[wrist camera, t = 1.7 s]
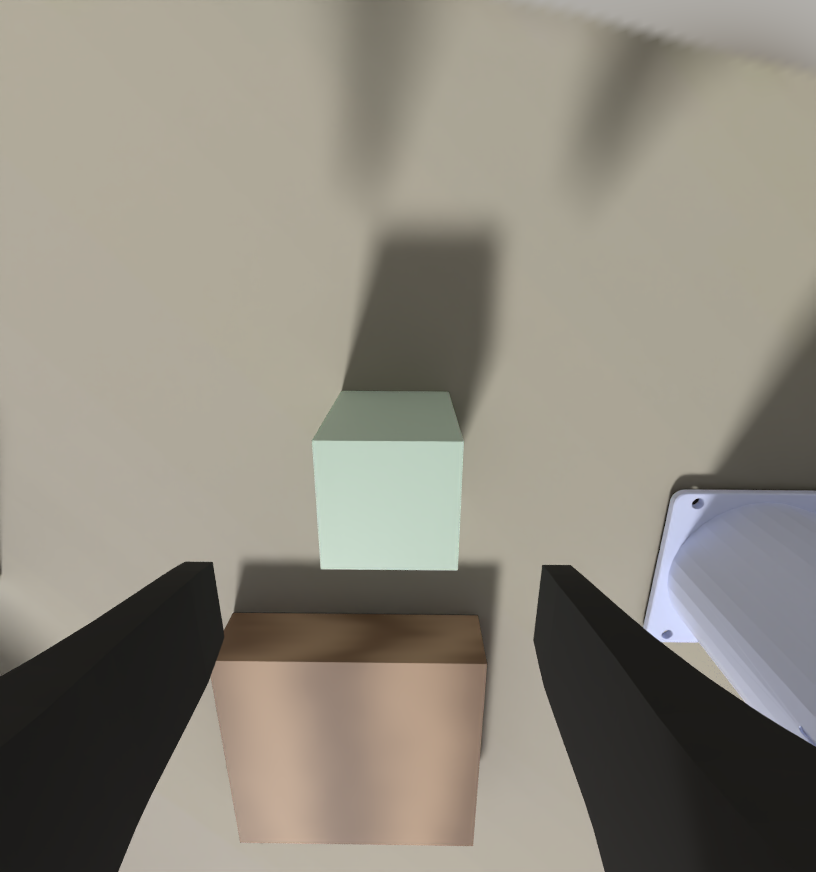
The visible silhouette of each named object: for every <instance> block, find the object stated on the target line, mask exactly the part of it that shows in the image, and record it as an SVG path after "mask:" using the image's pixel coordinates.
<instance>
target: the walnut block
mask: <svg viewBox="0 0 816 872" xmlns="http://www.w3.org/2000/svg"><path fill="white" fill-rule="evenodd" d="M486 672H487V661H486V655H485V650H484V645H483V640H482V634H481V629H480V624H479V618H478V615H402V614H305V613H233V614H232V616H231V618H230V620H229V622H228V624H227V626H226V627H225V629H224V640H223V643H222V646H221V649H220V652H219V655H218V658H217V660H216V663H215V666H214V669H213V671H212V674H211V681H212V687H213V692H214V698H215V704H216V709H217V715H218V720H219V726H220V732H221V737H222V743H223V749H224V754H225V760H226V765H227V771H228V777H229V782H230V788H231V794H232V799H233V805H234V810H235V816H236V822H237V827H238V833H239V838H240V843H301V844H371V845H440V846H473V839H474V826H475V813H476V800H477V787H478V775H479V762H480V749H481V736H482V723H483V710H484V698H485V685H486Z"/></svg>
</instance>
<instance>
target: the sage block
mask: <svg viewBox="0 0 816 872" xmlns="http://www.w3.org/2000/svg"><path fill="white" fill-rule="evenodd" d="M312 448H313V463H314V477H315V492H316V507H317V521H318V536H319V551H320V565H321V569H354V570H458V554H459V533H460V511H461V490H462V469H463V448H464V441H463V437H462V434H461V431H460V428H459V424H458V421H457V418H456V414H455V411H454V408H453V404H452V401H451V398H450V394H449V392H436V391H341V392H340V394H339V396H338V398H337V399H336V401H335V403H334V404H333V406H332V408H331V409H330V411H329V413H328V414H327V416H326V418H325V419H324V421H323V423H322V425H321V426H320V428H319V430H318V431H317V433H316V435H315V436H314V438H313V440H312Z"/></svg>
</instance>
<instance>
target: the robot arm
mask: <svg viewBox="0 0 816 872" xmlns="http://www.w3.org/2000/svg"><path fill="white" fill-rule="evenodd" d="M698 498H699V501H698V502H697V503H696V504H694V505H692V502H693V501H694V500H695V499H698ZM665 630H667V631H666V632H664V631H665ZM663 632H664V633H663ZM223 640H224V630H223V624H222V618H221V612H220V605H219V599H218V593H217V586H216V580H215V574H214V568H213V562H184V563H182V564H180V565H179V566H177V567H175V568H173V569H172V570H170V571H169V572H167V573H166V574H164V575H162V576H161V577H159V578H158V579H156V580H155V581H153V582H152V583H150V584H149V585H147V586H146V587H144V588H143V589H141V590H140V591H138V592H137V593H135V594H134V595H132V596H131V597H129V598H128V599H126V600H125V601H123V602H122V603H120V604H119V605H117V606H116V607H114V608H113V609H111V610H109V611H108V612H106V613H105V614H103V615H102V616H100V617H99V618H97V619H96V620H94V621H93V622H91V623H90V624H88V625H86V626H85V627H83V628H81V629H80V630H78V631H77V632H75V633H73V634H72V635H70V636H68V637H67V638H65V639H63V640H62V641H60V642H59V643H57V644H55V645H54V646H52V647H50V648H49V649H47V650H46V651H44V652H42V653H41V654H39V655H37V656H36V657H34V658H32V659H31V660H29V661H27V662H25V663H24V664H22V665H20V666H18V667H17V668H15V669H13V670H11V671H10V672H8V673H6V674H4V675H2V676H1V677H0V872H118V871H119V868H120V866H121V863H122V861H123V859H124V856H125V854H126V851H127V849H128V846H129V844H130V841H131V839H132V837H133V834H134V832H135V829H136V827H137V824H138V822H139V820H140V818H141V816H142V814H143V812H144V809H145V807H146V805H147V803H148V801H149V799H150V797H151V795H152V793H153V791H154V789H155V787H156V785H157V783H158V781H159V779H160V777H161V775H162V773H163V771H164V769H165V767H166V765H167V763H168V761H169V759H170V757H171V756H172V754H173V752H174V750H175V748H176V746H177V744H178V742H179V740H180V738H181V736H182V734H183V732H184V730H185V728H186V726H187V724H188V722H189V720H190V718H191V716H192V714H193V712H194V710H195V708H196V706H197V704H198V702H199V700H200V698H201V696H202V694H203V692H204V690H205V688H206V686H207V684H208V682H209V679H210V676H211V674H212V671H213V669H214V666H215V663H216V660H217V658H218V655H219V652H220V649H221V646H222V643H223ZM661 642H699V643H700V644H701V646H702V647H703V648H704V649H705V651H706V652H707V653H708V655H709V656H710V657H711V659H712V660H713V661H714V662H715V664H716V665H717V666H718V668H719V669H720V670H721V671H722V673H723V674H724V675H725V677H726V678H727V679H728V681H729V682H730V683H731V684H732V686H733V687H734V688H735V690H736V691H737V692H738V694H739V695H740V696H741V697H742V699H743V700H744V701H745V702H743V701H742V700H740V699H739V698H737V697H736V696H734V695H733V694H731V693H730V692H728V691H727V690H725V689H724V688H722V687H721V686H719V685H718V684H716V683H715V682H713V681H712V680H711V679H709V678H708V677H706V676H705V675H704V674H702V673H701V672H699V671H698V670H697V669H695V668H694V667H693V666H691V665H690V664H689V663H687V662H686V661H685V660H684V659H682V658H681V657H680V656H678V655H677V654H676V653H674V652H673V651H672V650H670V649H669V648H668V647H666V646H665V645H664V644H663V643H661ZM534 645H535V650H536V654H537V659H538V663H539V668H540V672H541V676H542V680H543V684H544V688H545V691H546V694H547V697H548V700H549V703H550V705H551V708H552V711H553V714H554V717H555V720H556V723H557V725H558V728H559V731H560V734H561V737H562V739H563V742H564V745H565V748H566V751H567V753H568V756H569V759H570V762H571V765H572V767H573V770H574V773H575V776H576V779H577V781H578V784H579V787H580V790H581V793H582V795H583V798H584V801H585V804H586V807H587V810H588V814H589V817H590V820H591V823H592V826H593V829H594V833H595V836H596V840H597V844H598V848H599V852H600V855H601V859H602V863H603V867H604V870H605V872H816V491H809V490H686V489H684V490H679V491H677V492H675V493H674V494H673V496H672V497H671V500H670V504H669V509H668V514H667V518H666V523H665V528H664V532H663V537H662V542H661V546H660V551H659V556H658V560H657V565H656V570H655V574H654V579H653V584H652V588H651V593H650V598H649V602H648V607H647V612H646V617H645V621H644V626H643V627H642V626H640V625H639V624H638V623H637V622H636V621H634V620H633V619H632V618H631V617H630V616H629V615H627V614H626V613H625V612H624V611H623V610H622V609H620V608H619V607H618V606H617V605H616V604H615V603H613V602H612V601H611V600H610V599H609V598H608V597H607V596H605V595H604V594H603V593H602V592H601V591H600V590H599V589H598V588H596V587H595V586H594V585H593V584H592V583H591V582H590V581H588V580H587V579H586V578H585V577H584V576H583V575H582V574H580V573H579V572H578V571H577V570H576V569H575V568H573V567H572V566H571V565H542V572H541V581H540V589H539V598H538V606H537V615H536V623H535V632H534Z"/></svg>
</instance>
